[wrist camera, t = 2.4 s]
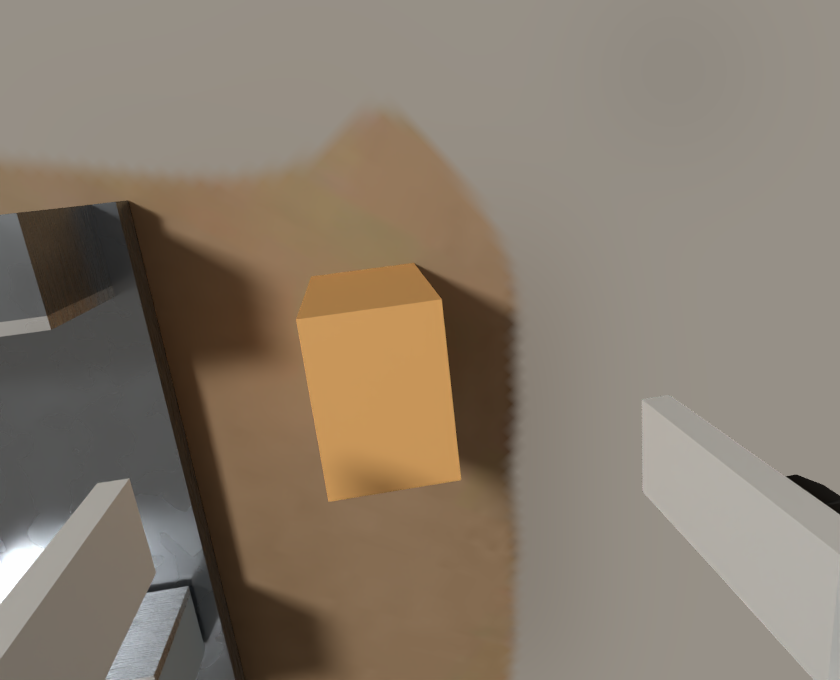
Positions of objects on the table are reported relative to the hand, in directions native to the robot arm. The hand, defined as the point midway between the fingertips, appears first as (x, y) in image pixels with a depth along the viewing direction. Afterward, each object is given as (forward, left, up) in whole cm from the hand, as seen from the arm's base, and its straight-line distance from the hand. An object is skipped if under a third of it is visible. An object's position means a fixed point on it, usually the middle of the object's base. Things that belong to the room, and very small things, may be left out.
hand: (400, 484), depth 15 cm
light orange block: (0, 0, -15) cm, 15 cm away
